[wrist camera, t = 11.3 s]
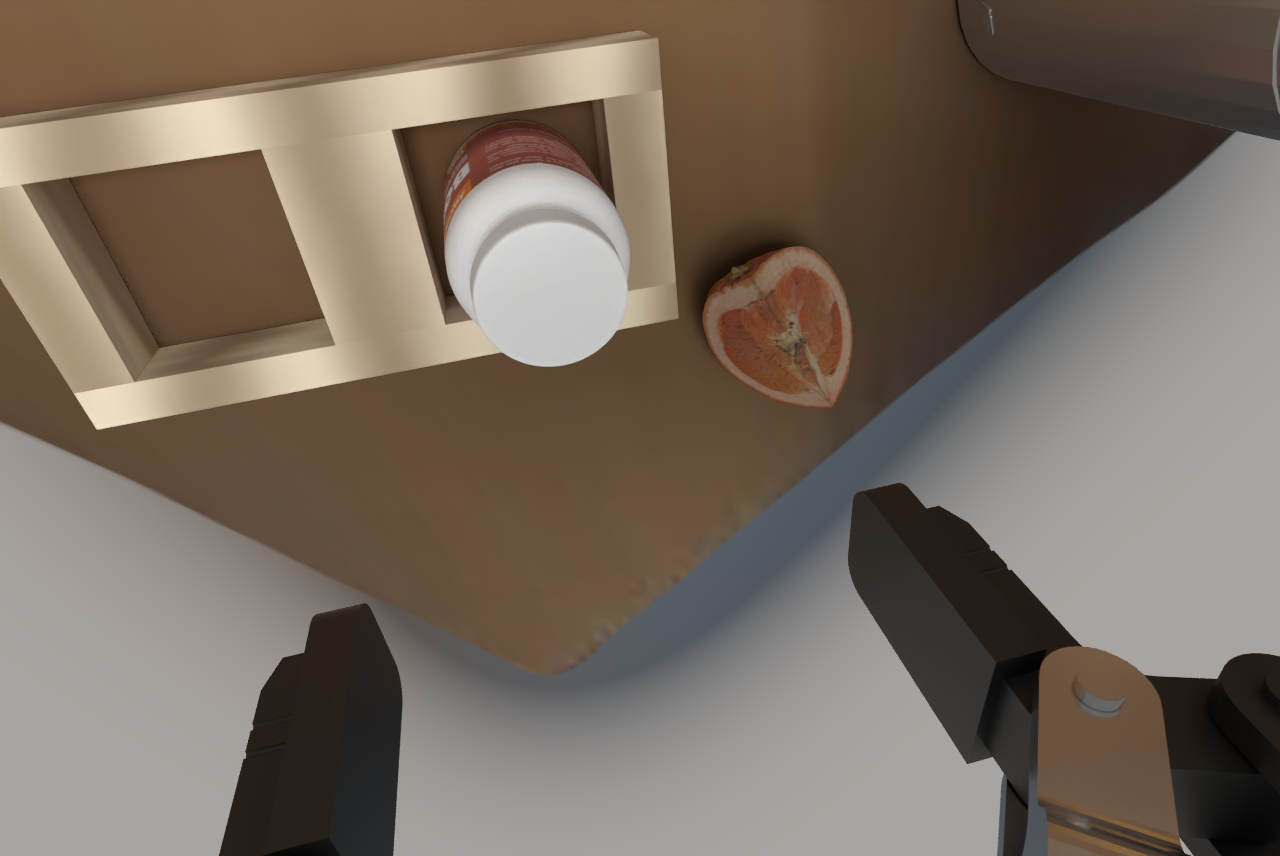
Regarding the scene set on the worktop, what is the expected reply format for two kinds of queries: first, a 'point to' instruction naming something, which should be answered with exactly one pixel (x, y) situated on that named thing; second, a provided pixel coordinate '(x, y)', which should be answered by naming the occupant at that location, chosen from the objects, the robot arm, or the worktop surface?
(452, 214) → the pill bottle
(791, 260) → the fruit slice
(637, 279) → the rail
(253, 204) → the worktop surface
